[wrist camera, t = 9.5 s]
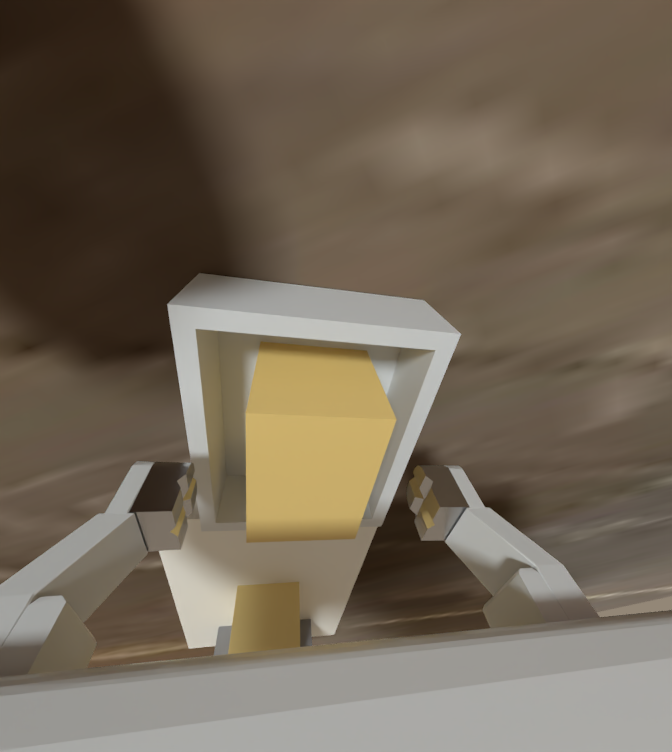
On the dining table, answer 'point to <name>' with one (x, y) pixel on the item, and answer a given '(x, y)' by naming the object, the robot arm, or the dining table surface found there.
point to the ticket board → (259, 565)
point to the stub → (312, 442)
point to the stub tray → (301, 327)
